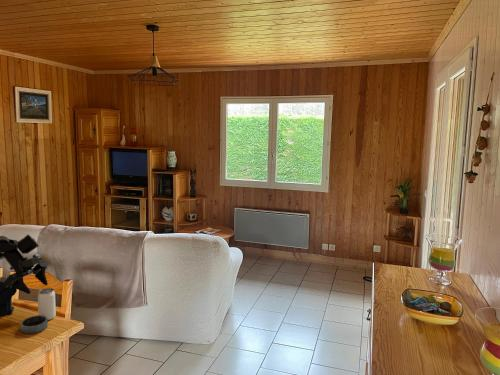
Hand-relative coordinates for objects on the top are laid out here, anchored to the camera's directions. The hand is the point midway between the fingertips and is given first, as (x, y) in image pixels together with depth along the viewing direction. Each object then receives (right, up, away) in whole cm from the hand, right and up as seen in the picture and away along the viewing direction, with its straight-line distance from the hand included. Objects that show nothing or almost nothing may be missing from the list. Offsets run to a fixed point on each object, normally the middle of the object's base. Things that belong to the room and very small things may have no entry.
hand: (38, 289), depth 159 cm
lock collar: (+3, -14, -8) cm, 16 cm away
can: (+4, -12, 0) cm, 13 cm away
